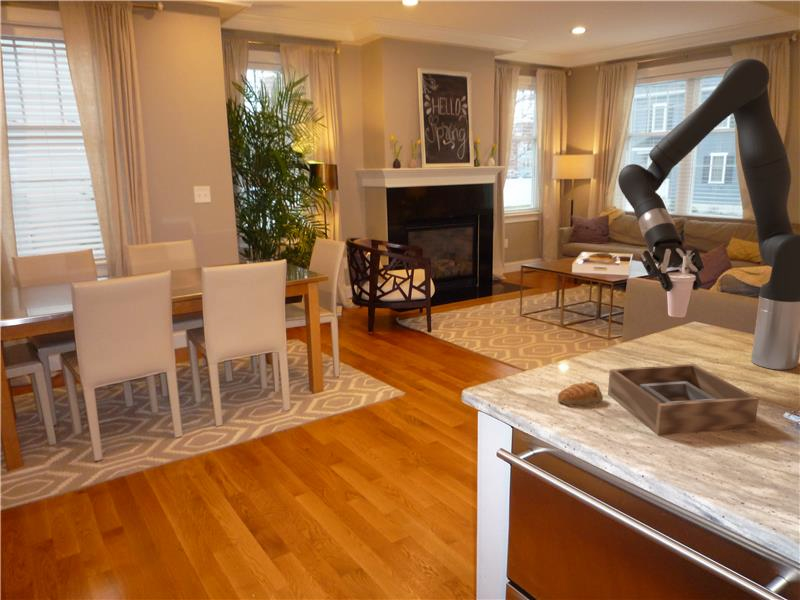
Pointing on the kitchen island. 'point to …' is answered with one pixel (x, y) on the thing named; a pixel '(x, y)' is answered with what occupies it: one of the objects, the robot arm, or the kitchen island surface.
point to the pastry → (581, 394)
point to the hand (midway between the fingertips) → (683, 288)
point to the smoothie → (680, 292)
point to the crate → (682, 399)
